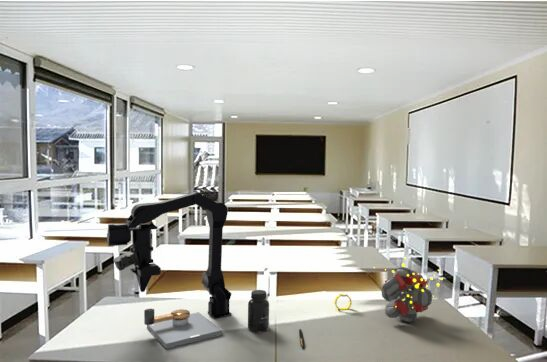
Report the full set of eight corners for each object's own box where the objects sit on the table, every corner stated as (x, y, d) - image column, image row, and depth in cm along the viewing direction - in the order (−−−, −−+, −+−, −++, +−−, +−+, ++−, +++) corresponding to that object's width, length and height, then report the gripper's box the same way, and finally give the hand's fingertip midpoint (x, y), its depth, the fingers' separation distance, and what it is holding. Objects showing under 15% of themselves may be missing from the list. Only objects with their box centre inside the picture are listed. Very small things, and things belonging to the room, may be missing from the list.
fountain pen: (298, 330, 136) (298, 325, 136) (301, 330, 136) (301, 325, 136) (301, 350, 122) (301, 345, 122) (305, 350, 122) (305, 345, 122)
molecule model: (413, 341, 127) (415, 267, 126) (357, 321, 143) (358, 255, 142) (453, 320, 144) (454, 255, 143) (398, 304, 159) (400, 245, 158)
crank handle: (185, 311, 141) (185, 299, 140) (192, 317, 136) (192, 305, 135) (141, 320, 133) (141, 308, 132) (147, 327, 128) (147, 314, 127)
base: (198, 316, 147) (198, 306, 146) (222, 334, 132) (222, 323, 131) (146, 327, 137) (146, 317, 137) (166, 349, 122) (166, 337, 121)
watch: (349, 308, 156) (350, 292, 156) (351, 311, 153) (353, 295, 153) (333, 307, 156) (334, 291, 155) (335, 310, 153) (336, 294, 152)
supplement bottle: (266, 333, 133) (266, 296, 132) (245, 331, 134) (245, 294, 133) (270, 325, 139) (271, 289, 139) (250, 323, 141) (250, 288, 140)
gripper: (108, 241, 139) (109, 288, 140) (123, 252, 123) (124, 304, 124) (142, 237, 145) (143, 282, 146) (161, 247, 129) (161, 297, 130)
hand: (142, 291), depth 136 cm, fingers closed
